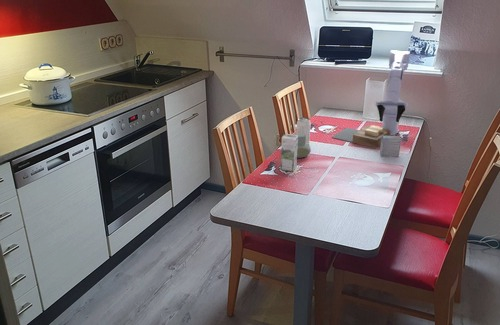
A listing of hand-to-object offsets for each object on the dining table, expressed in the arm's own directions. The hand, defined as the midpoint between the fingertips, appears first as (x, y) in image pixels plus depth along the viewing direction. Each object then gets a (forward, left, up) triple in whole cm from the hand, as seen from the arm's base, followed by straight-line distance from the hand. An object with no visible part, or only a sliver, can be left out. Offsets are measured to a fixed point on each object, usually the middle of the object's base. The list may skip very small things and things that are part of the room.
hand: (389, 121), depth 213 cm
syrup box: (+51, -23, -12) cm, 58 cm away
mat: (-3, -20, -12) cm, 24 cm away
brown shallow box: (-3, -8, -12) cm, 15 cm away
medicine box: (+11, +6, -12) cm, 18 cm away
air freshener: (+36, -27, -12) cm, 47 cm away
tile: (-3, -7, -8) cm, 11 cm away
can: (+21, -33, -12) cm, 41 cm away
